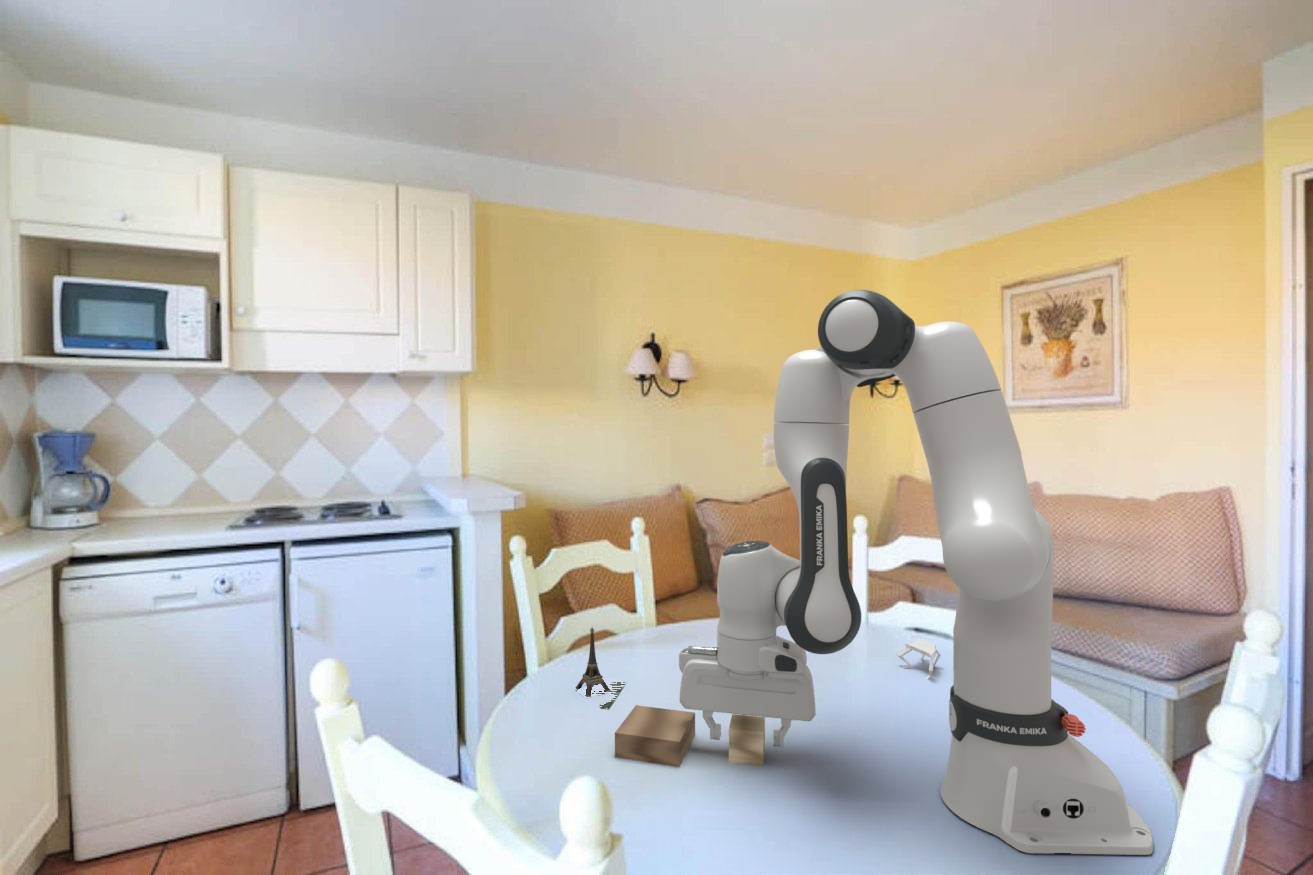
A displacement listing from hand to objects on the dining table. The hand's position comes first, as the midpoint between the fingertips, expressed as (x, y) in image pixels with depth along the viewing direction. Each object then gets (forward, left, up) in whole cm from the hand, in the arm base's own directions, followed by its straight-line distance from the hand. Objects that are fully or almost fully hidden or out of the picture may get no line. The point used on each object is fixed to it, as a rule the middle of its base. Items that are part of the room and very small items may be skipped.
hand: (746, 741), depth 94 cm
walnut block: (+14, 0, -2) cm, 14 cm away
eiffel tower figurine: (+30, -17, -3) cm, 35 cm away
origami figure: (-32, -41, -2) cm, 52 cm away
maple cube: (0, 0, -2) cm, 2 cm away
